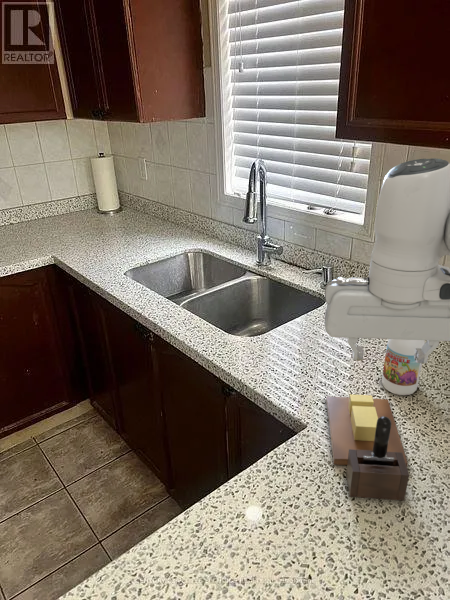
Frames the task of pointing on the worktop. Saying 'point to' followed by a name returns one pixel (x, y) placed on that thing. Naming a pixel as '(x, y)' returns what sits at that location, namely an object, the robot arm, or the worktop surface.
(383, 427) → the knife
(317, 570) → the worktop surface
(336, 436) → the board
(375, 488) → the knife block
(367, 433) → the butter block
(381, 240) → the robot arm
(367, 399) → the butter slice
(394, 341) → the milk bottle
